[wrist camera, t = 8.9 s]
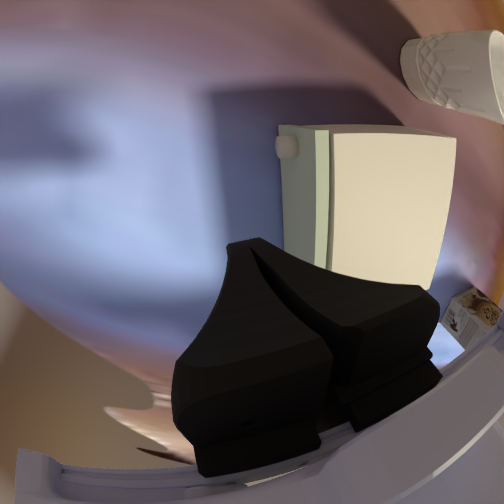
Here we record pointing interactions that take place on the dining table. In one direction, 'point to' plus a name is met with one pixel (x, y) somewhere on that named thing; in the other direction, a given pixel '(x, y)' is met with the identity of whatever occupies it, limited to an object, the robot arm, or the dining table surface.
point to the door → (304, 190)
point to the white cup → (458, 71)
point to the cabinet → (387, 201)
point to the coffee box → (470, 316)
